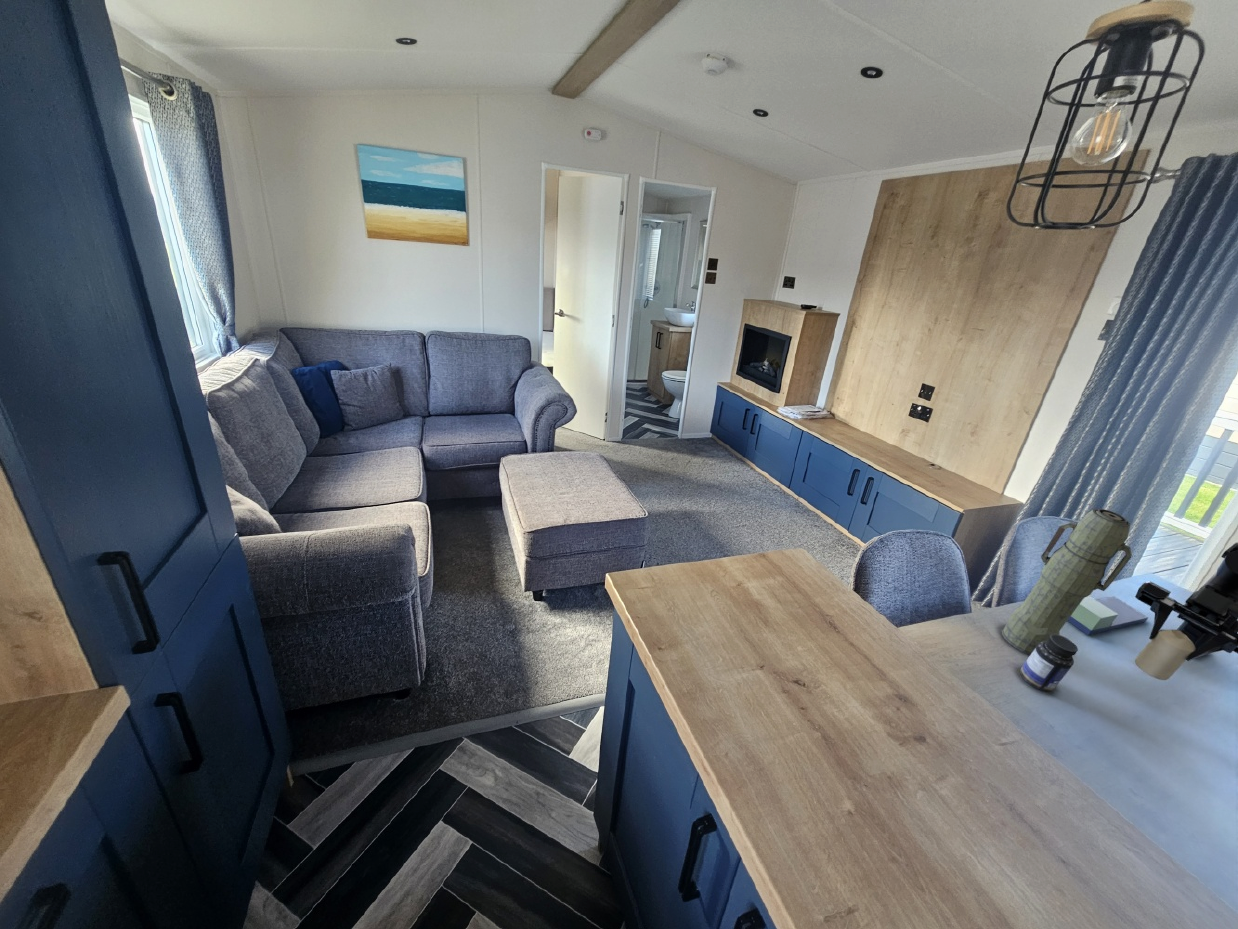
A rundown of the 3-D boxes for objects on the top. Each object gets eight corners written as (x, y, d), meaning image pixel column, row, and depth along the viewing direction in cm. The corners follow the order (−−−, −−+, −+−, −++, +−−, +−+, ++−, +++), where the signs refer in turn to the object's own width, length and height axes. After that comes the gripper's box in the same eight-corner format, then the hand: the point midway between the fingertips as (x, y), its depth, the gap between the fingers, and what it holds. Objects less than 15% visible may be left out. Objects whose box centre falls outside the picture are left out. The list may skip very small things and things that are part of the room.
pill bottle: (1046, 675, 110) (1075, 638, 105) (1058, 697, 104) (1088, 659, 99) (1014, 664, 111) (1041, 627, 106) (1024, 685, 106) (1052, 647, 101)
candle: (1175, 683, 104) (1208, 648, 99) (1145, 676, 105) (1177, 641, 100) (1155, 662, 109) (1186, 628, 104) (1127, 656, 109) (1157, 621, 105)
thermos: (998, 617, 125) (1078, 495, 109) (1055, 648, 118) (1150, 523, 102) (989, 634, 119) (1073, 507, 103) (1050, 667, 112) (1150, 537, 96)
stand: (1110, 600, 139) (1123, 584, 136) (1145, 622, 132) (1158, 606, 130) (1054, 611, 131) (1066, 595, 128) (1087, 635, 124) (1101, 618, 122)
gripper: (1171, 549, 105) (1117, 603, 104) (1306, 612, 91) (1244, 674, 91) (1161, 571, 112) (1111, 621, 112) (1284, 632, 98) (1227, 689, 98)
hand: (1168, 649), depth 103 cm, fingers closed on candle, 5 cm apart
